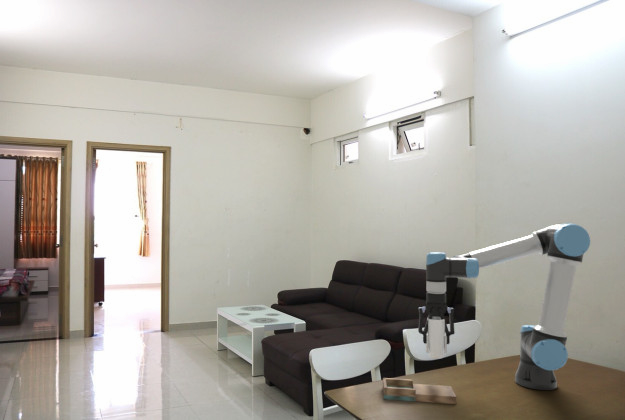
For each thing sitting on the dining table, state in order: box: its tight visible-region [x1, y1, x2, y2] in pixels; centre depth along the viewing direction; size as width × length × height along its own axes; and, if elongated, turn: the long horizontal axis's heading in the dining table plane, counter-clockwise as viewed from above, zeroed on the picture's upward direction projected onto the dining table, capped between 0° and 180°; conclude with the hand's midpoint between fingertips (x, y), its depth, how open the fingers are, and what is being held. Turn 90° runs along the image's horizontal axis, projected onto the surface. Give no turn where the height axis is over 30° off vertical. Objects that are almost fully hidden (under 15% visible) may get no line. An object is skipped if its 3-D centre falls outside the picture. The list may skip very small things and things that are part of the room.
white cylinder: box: [426, 316, 446, 360], centre depth 189 cm, size 7×7×15 cm
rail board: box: [382, 377, 457, 405], centre depth 177 cm, size 25×11×4 cm, turn 84°
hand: (436, 352), depth 189 cm, fingers closed on white cylinder, 6 cm apart
